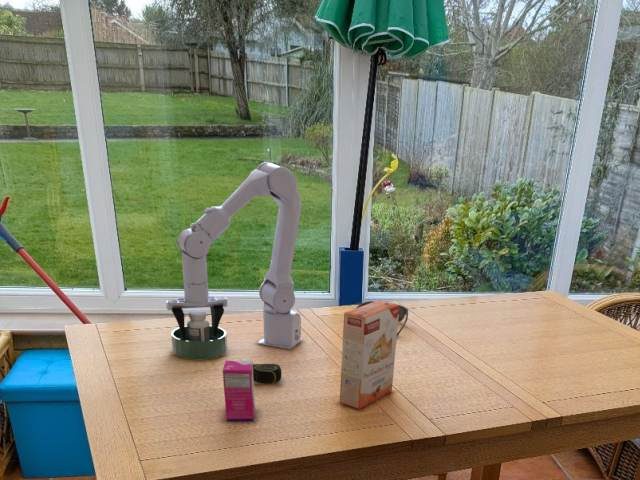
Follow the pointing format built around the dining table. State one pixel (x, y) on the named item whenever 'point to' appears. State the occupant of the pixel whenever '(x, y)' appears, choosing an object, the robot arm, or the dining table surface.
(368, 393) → the cracker box
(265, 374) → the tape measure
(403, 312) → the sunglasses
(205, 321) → the pill bottle
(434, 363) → the dining table surface
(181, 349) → the bowl
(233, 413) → the supplement box
